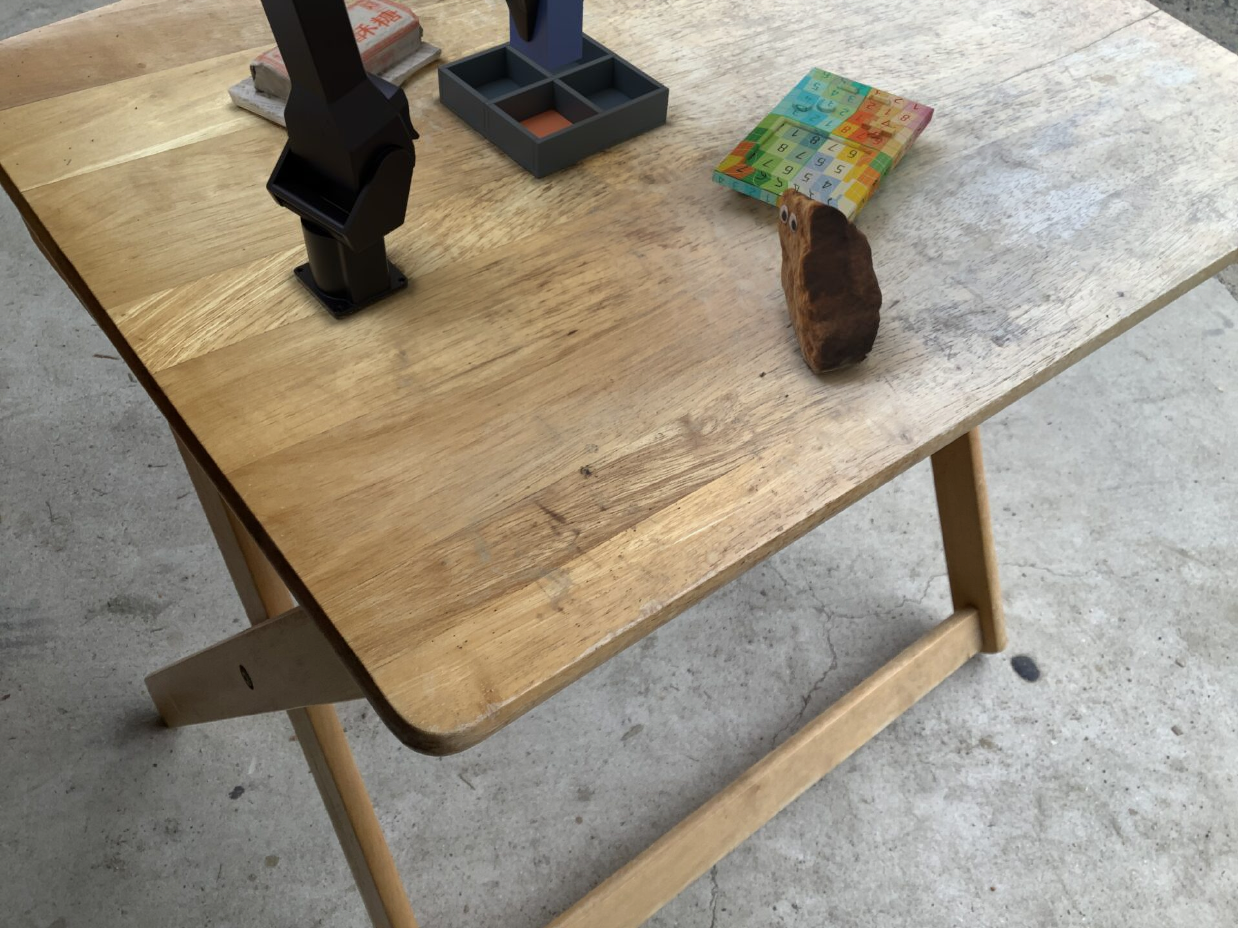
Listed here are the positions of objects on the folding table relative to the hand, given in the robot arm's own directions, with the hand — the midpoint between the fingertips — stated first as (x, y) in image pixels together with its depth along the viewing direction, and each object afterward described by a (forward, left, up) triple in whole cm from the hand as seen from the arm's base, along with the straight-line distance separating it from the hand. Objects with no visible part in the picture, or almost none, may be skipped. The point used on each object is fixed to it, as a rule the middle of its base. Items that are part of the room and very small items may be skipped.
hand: (545, 33), depth 87 cm
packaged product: (+20, +8, -12) cm, 25 cm away
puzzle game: (-17, -18, -12) cm, 27 cm away
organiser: (+5, -5, -11) cm, 13 cm away
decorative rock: (-30, -3, -12) cm, 32 cm away
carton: (0, 0, -2) cm, 2 cm away
